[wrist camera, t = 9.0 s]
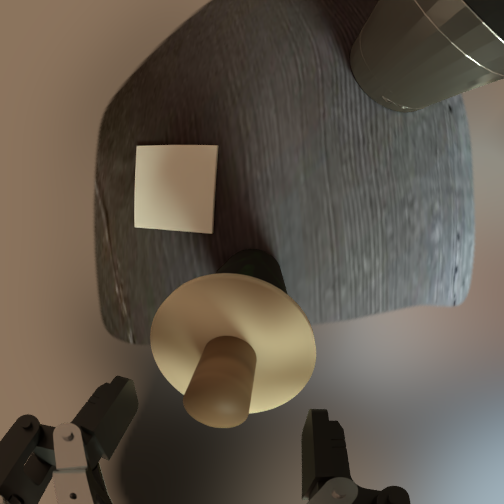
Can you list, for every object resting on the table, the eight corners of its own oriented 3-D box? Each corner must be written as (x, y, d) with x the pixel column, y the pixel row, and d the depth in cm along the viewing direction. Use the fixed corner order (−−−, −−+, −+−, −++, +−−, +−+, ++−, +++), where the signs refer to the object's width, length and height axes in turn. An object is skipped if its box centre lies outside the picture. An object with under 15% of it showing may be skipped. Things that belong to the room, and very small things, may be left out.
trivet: (139, 146, 25) (136, 146, 24) (218, 146, 24) (217, 145, 24) (137, 225, 27) (134, 227, 26) (213, 232, 26) (211, 233, 26)
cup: (246, 325, 29) (227, 409, 17) (197, 269, 28) (146, 332, 16) (308, 284, 27) (325, 359, 15) (259, 221, 26) (241, 260, 14)
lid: (150, 263, 15) (103, 298, 10) (329, 282, 14) (348, 331, 10) (162, 391, 17) (137, 440, 13) (299, 411, 17) (301, 467, 12)
